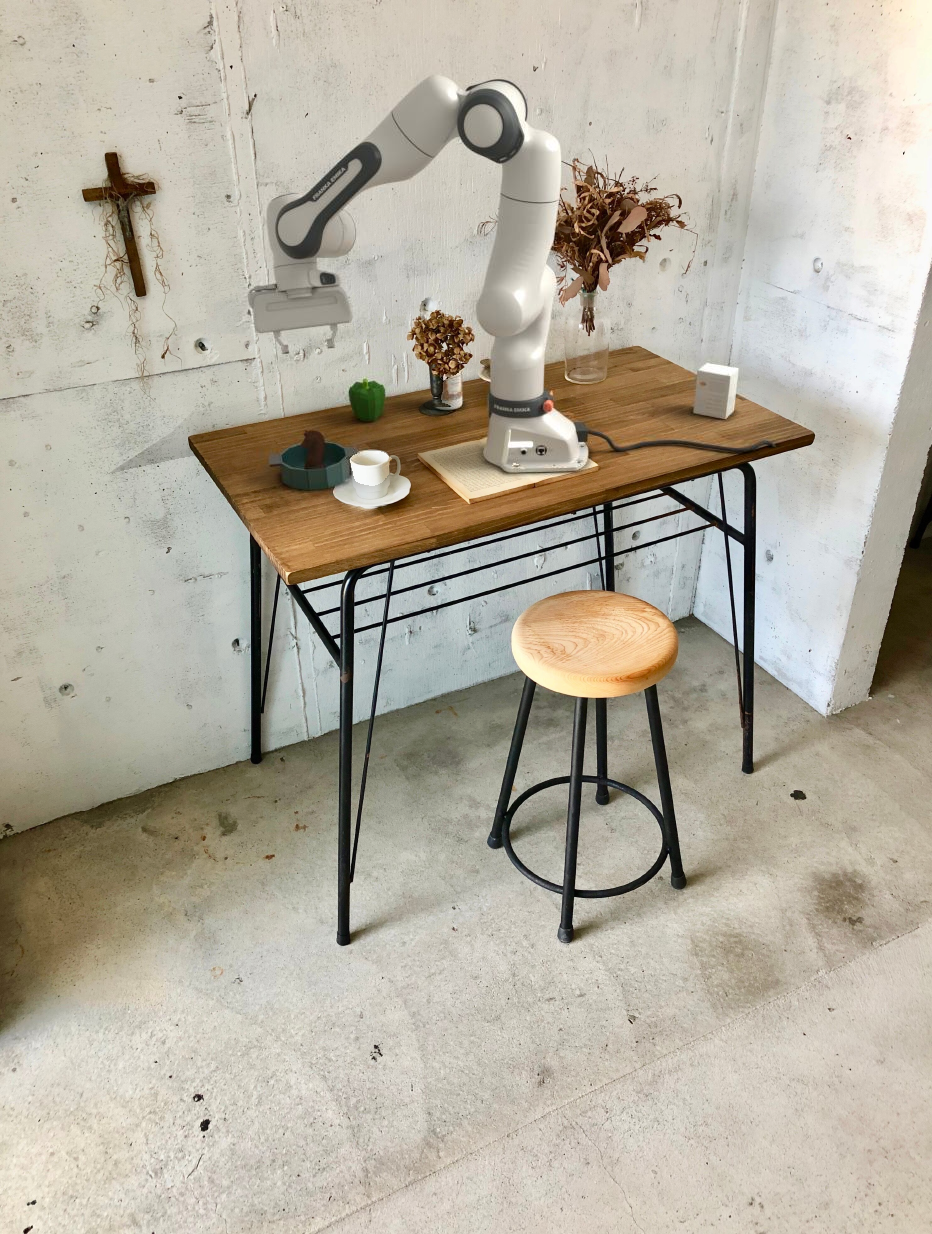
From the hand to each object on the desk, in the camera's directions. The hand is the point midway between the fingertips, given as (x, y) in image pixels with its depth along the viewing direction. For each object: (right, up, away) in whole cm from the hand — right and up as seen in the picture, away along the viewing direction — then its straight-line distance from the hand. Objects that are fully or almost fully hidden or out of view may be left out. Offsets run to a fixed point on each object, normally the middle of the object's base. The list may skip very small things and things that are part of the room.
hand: (308, 351), depth 210 cm
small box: (+90, -8, +26) cm, 94 cm away
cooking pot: (+1, -25, +2) cm, 25 cm away
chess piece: (+1, -25, +2) cm, 26 cm away
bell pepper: (+10, -9, +27) cm, 30 cm away
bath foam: (+28, -5, +33) cm, 43 cm away
